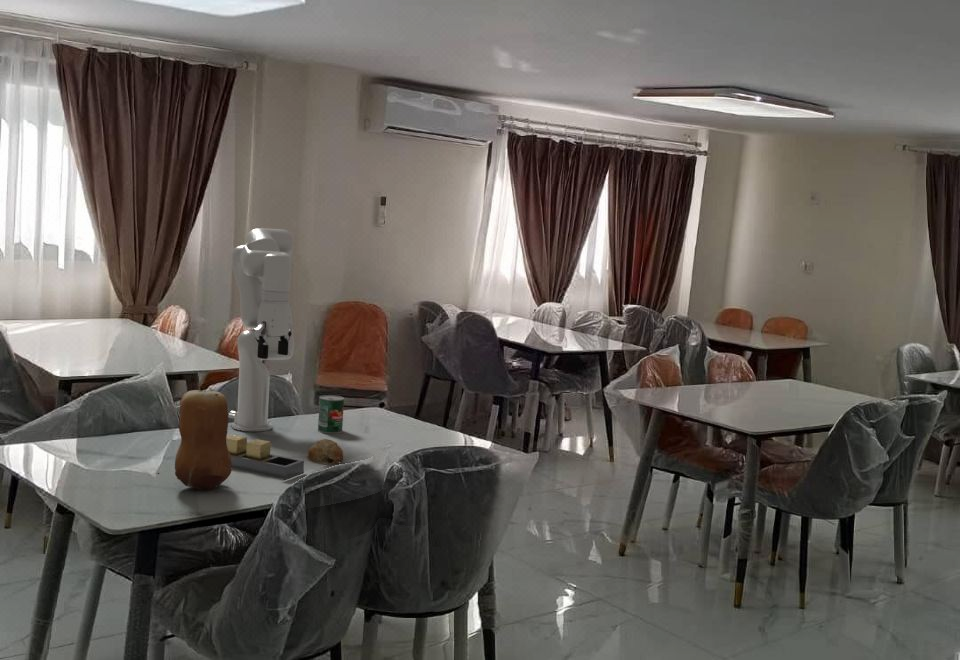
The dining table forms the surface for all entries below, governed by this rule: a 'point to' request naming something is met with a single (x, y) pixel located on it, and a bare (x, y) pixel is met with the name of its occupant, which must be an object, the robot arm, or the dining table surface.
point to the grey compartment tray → (270, 465)
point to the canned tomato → (330, 414)
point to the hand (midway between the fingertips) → (272, 356)
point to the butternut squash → (203, 440)
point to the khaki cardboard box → (236, 445)
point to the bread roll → (325, 452)
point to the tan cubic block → (258, 449)
